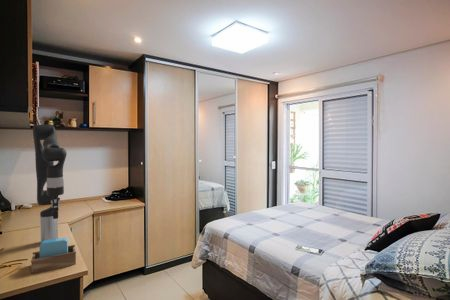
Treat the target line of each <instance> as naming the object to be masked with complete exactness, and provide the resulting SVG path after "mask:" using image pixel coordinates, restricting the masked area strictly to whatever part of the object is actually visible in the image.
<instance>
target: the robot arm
mask: <svg viewBox="0 0 450 300" xmlns="http://www.w3.org/2000/svg"><path fill="white" fill-rule="evenodd" d="M56 132H57V130H56V128H55V126H54V125H53V124H34V125H33V127H32V136H33V143H34V154H35V158H34V159H35V174H36V201H37V205H38V206H47V205H48V206H50V207H48V208H46V209H44V210H41V211H40V213H39V215H40V216H39V220H40V222H39V224H40V243H41V242H42V241H44V240H50V239H58V238H59V222H58V221H59V210H60V209H59V207H60V201H61V198H60V196H63V195H64V191H65V188H64V185H65V184H64V166H65V165H64V164H65V161H66V158H67V151H66V149H65V148H64V147H60V144H59V142H58V137H57V133H56ZM41 141H43V142H41ZM54 162H57V163H56V164H54ZM45 185H46V190H44V187H45Z"/></svg>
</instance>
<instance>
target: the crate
mask: <svg viewBox="0 0 450 300" xmlns="http://www.w3.org/2000/svg"><path fill="white" fill-rule="evenodd" d="M76 257H77V251H76V245H75V244H72V245H68V253H65V254H60V255H55V256H50V257H44V258H40V250H39V251H34V252H32V257H31V260H30V263H31V274H36V273H41V272H45V271H50V270H54V269H59V268H64V267H69V266H74V265H76V264H77V262H76V261H77V258H76Z"/></svg>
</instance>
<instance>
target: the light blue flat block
mask: <svg viewBox="0 0 450 300" xmlns="http://www.w3.org/2000/svg"><path fill="white" fill-rule="evenodd" d="M68 246H69V239H68V238H67V237H58V239H50V240H44V241H42V242H41V241H40V244H39V251H40V258H44V257H50V256H55V255H60V254H65V253H68Z"/></svg>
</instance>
